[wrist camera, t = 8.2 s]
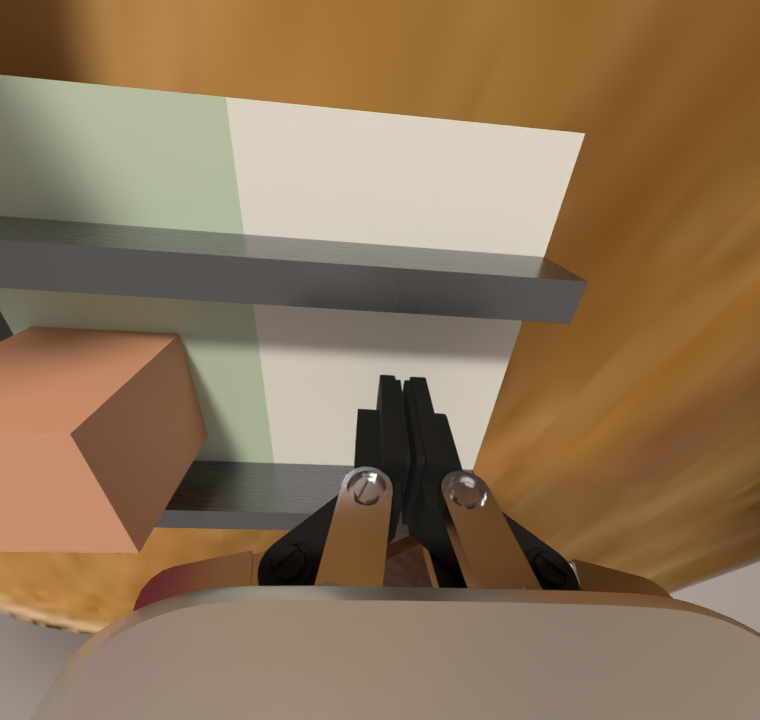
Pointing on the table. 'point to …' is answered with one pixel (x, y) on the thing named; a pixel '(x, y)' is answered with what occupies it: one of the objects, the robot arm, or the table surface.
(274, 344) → the channel deck
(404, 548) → the display case
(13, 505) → the terracotta block
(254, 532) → the table surface
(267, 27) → the table surface
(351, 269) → the channel walls
